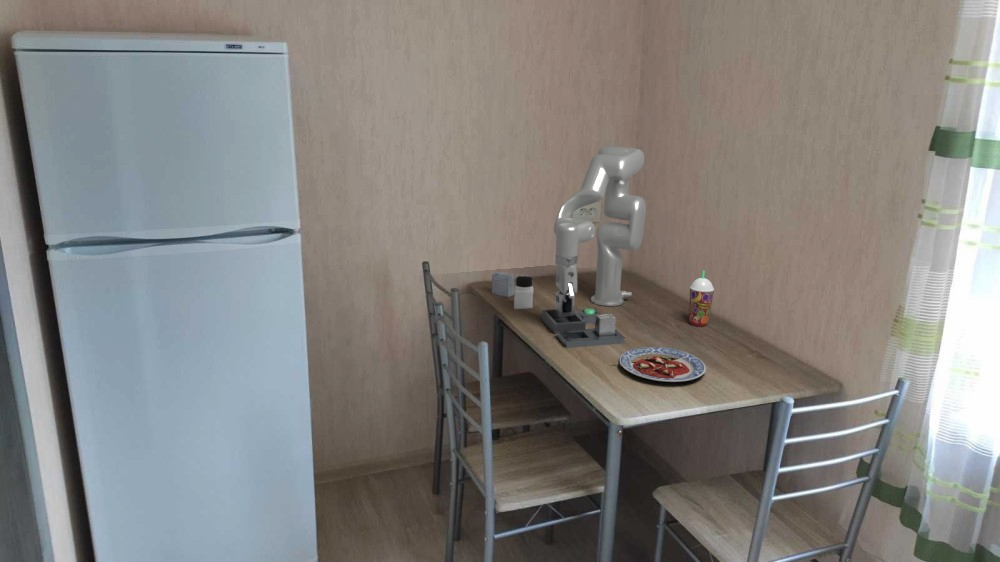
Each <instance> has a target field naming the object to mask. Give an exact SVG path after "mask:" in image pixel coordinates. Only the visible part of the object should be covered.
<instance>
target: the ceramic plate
mask: <svg viewBox="0 0 1000 562" xmlns="http://www.w3.org/2000/svg"><path fill="white" fill-rule="evenodd" d="M644 355H653V356H647V357H645V358H640V359H638V360H636V361H633V360H634V359H635V358H637V357H640V356H644ZM654 355H662V356H661V357H659V356H654ZM663 355H664V356H663ZM667 356H670V357H667ZM673 357H675V358H673ZM662 358H663V359H662ZM619 364H620V365H621V367H622V368H623V369H624V370H626V372H629V373H631V374H632V375H635V376H637V377H640V378H644V379H647V380H652V381H657V382H669V383H676V382H677V383H678V382H679V383H680V382H687V381H693V380H695V379H698V378H700V377H702V376H703V375H704V374H705V373H706V371H707V370H706V369H707V367H706V365H705V363H704V362H703V360H701V359H700V358H698V357H697V356H696V355H695V356H694V355H693V354H690V353H688V352H685V351H683V350H678V349H672V348H667V347H657V346H648V347H638V348H633V349H629V350H627V351H625V352H623V353H622V354H621V355H620V357H619Z"/></svg>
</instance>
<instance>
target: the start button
mask: <svg viewBox="0 0 1000 562" xmlns="http://www.w3.org/2000/svg"><path fill="white" fill-rule="evenodd" d="M584 309H585V310H584V313H585V314H594V312H595V310H594V309H591V307H588V308H587V307H586V308H584Z"/></svg>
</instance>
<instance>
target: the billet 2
mask: <svg viewBox="0 0 1000 562" xmlns="http://www.w3.org/2000/svg"><path fill="white" fill-rule="evenodd" d="M616 323H617V317H616V316H615V315H614V314H612V313H606V314H605V313H604V314H602V313H601V315H596V321H595V323H594V328H595V335H596V336H597V337H604V336H615V329H616Z"/></svg>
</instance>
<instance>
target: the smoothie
mask: <svg viewBox="0 0 1000 562" xmlns="http://www.w3.org/2000/svg"><path fill="white" fill-rule="evenodd" d="M705 272H706V271H705V270H702V277H699V278H696V279H695V280H693V281H692V283H691V285H689V307H688V320H689V324H690V325H692V326H695V327H701V328H702V327H706V326H707V324H708V323H709V320H710V314H711V309H712V302H713V297H714V292H715V288H714V286H713V283H712V282H711V280H709V279H708V278H706V277H705Z"/></svg>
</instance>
